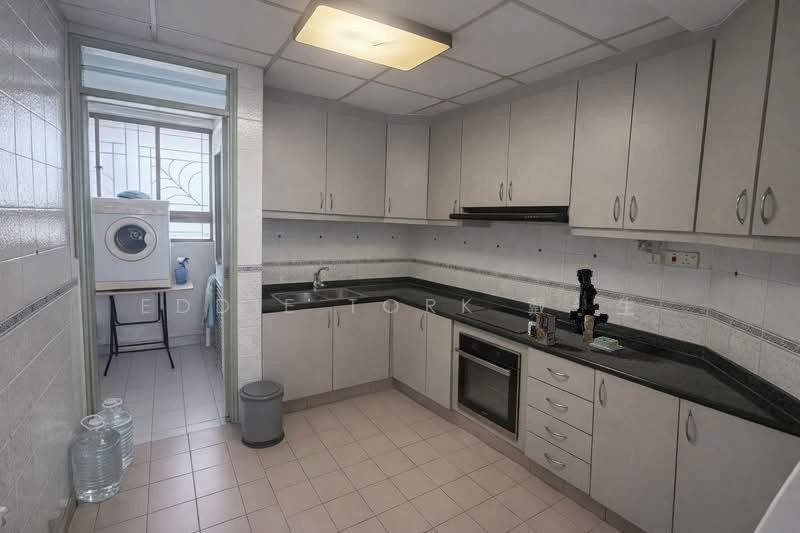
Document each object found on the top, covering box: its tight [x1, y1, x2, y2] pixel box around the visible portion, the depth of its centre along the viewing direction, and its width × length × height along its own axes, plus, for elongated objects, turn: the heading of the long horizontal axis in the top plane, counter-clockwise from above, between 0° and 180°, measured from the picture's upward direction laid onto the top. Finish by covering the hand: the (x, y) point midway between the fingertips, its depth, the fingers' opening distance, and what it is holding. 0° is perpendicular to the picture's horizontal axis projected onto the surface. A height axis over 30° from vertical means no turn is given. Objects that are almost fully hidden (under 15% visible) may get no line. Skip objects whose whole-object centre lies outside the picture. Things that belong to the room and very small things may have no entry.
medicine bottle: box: [527, 314, 537, 337], centre depth 235 cm, size 7×7×12 cm
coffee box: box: [534, 312, 558, 346], centre depth 221 cm, size 9×6×16 cm
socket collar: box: [588, 336, 624, 353], centre depth 218 cm, size 12×12×4 cm
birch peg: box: [582, 315, 594, 344], centre depth 211 cm, size 4×4×14 cm
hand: (588, 330), depth 210 cm, fingers closed on birch peg, 4 cm apart
